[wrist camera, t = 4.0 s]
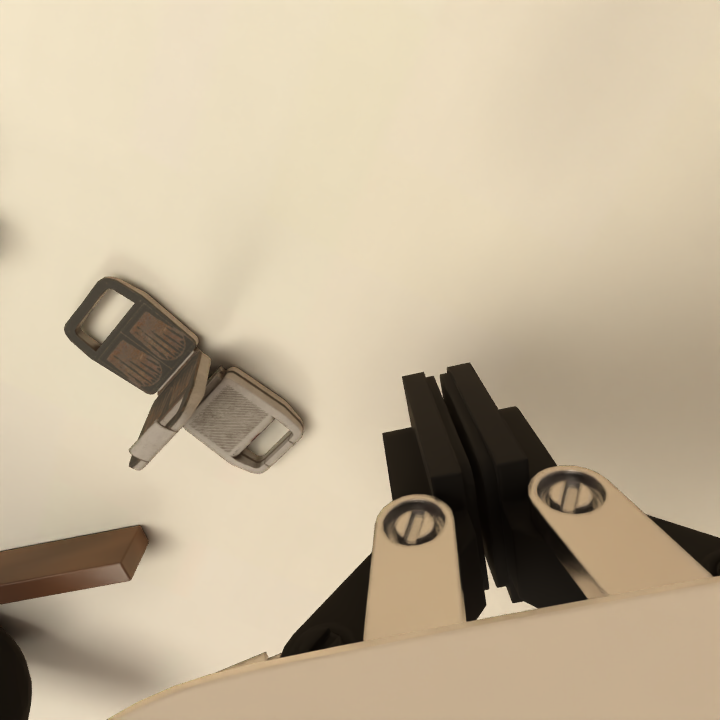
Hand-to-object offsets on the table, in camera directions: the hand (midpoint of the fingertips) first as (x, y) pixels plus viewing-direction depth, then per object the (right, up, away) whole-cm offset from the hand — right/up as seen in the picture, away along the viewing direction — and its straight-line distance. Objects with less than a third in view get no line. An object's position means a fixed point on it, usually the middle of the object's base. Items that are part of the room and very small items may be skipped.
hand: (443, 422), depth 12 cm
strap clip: (-8, +1, +6) cm, 10 cm away
